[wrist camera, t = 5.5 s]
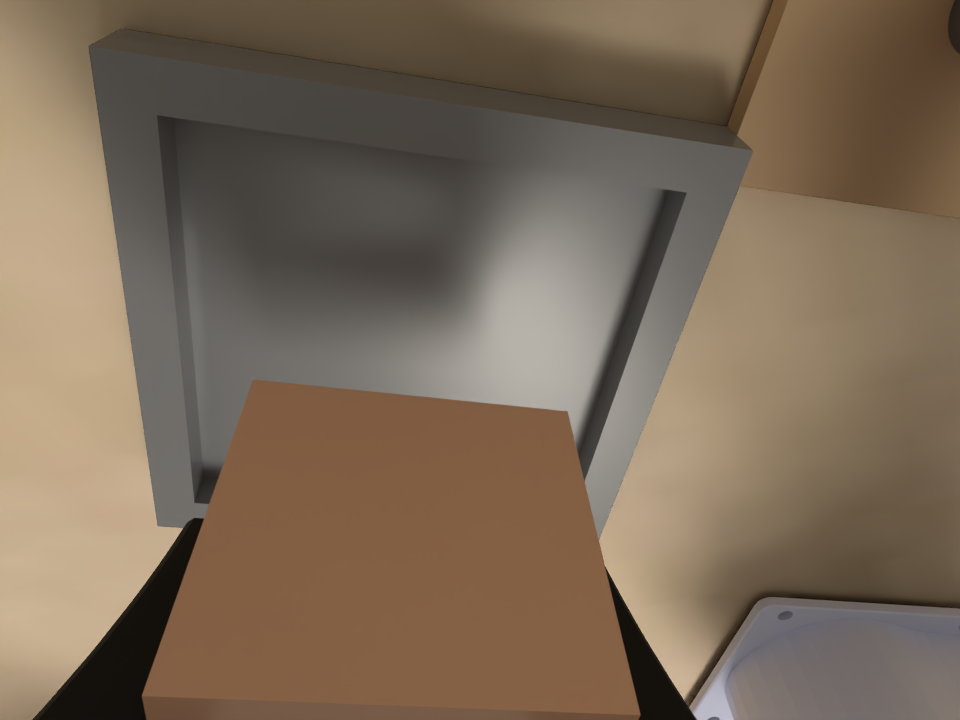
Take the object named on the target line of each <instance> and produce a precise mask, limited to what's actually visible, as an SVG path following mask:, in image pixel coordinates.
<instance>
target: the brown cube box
mask: <svg viewBox="0 0 960 720" xmlns="http://www.w3.org/2000/svg"><path fill="white" fill-rule="evenodd" d="M142 700H143V705H144V710H145V715H146V720H638V719H639V717H640V710H639V706H638V702H637V698H636V694H635V690H634V685H633V681H632V677H631V673H630V669H629V665H628V661H627V656H626V652H625V648H624V644H623V640H622V636H621V631H620V627H619V623H618V619H617V615H616V611H615V606H614V602H613V598H612V594H611V590H610V586H609V581H608V577H607V573H606V569H605V565H604V561H603V556H602V552H601V548H600V544H599V540H598V536H597V531H596V527H595V523H594V519H593V515H592V511H591V507H590V502H589V498H588V494H587V490H586V486H585V482H584V477H583V473H582V469H581V465H580V461H579V457H578V452H577V448H576V444H575V440H574V436H573V432H572V427H571V423H570V419H569V415H568V411H560V410H550V409H540V408H530V407H520V406H510V405H501V404H491V403H481V402H471V401H461V400H451V399H441V398H431V397H421V396H412V395H402V394H392V393H382V392H372V391H362V390H352V389H342V388H333V387H323V386H313V385H303V384H293V383H283V382H273V381H263V380H253V381H252V384H251V387H250V390H249V393H248V395H247V398H246V401H245V404H244V407H243V410H242V413H241V415H240V418H239V421H238V424H237V427H236V430H235V432H234V435H233V438H232V441H231V444H230V447H229V449H228V452H227V455H226V458H225V461H224V464H223V467H222V469H221V472H220V475H219V478H218V481H217V484H216V486H215V489H214V492H213V495H212V498H211V501H210V503H209V506H208V509H207V512H206V515H205V518H204V521H203V523H202V526H201V529H200V532H199V535H198V538H197V540H196V543H195V546H194V549H193V552H192V555H191V557H190V560H189V563H188V566H187V569H186V572H185V575H184V577H183V580H182V583H181V586H180V589H179V592H178V594H177V597H176V600H175V603H174V606H173V609H172V611H171V614H170V617H169V620H168V623H167V626H166V629H165V631H164V634H163V637H162V640H161V643H160V646H159V648H158V651H157V654H156V657H155V660H154V663H153V665H152V668H151V671H150V674H149V677H148V680H147V683H146V685H145V688H144V691H143V694H142Z"/></svg>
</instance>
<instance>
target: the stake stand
mask: <svg viewBox="0 0 960 720" xmlns="http://www.w3.org/2000/svg"><path fill="white" fill-rule="evenodd" d="M727 127H728V128H729V129H730V130H731V131H733V132H734V133H735V134H736V135H737V136H738V137H739V138H740V139H741V140H742V141H744V142H745V143H746V144H747V145H748V146H749V147H750V148H751V149H752V150H753V153H752V156H751V158H750V161H749V163H748V166H747V169H746V171H745V174H744V176H743V179H742V181H741V184H740V186H745V187H752V188H758V189H765V190H772V191H779V192H785V193H792V194H799V195H805V196H812V197H819V198H825V199H832V200H839V201H845V202H852V203H859V204H866V205H872V206H879V207H886V208H892V209H899V210H906V211H912V212H919V213H926V214H933V215H939V216H946V217H953V218H959V219H960V0H773V3H772V5H771V8H770V11H769V14H768V16H767V19H766V22H765V24H764V27H763V30H762V33H761V35H760V38H759V41H758V43H757V46H756V49H755V52H754V54H753V57H752V60H751V62H750V65H749V68H748V71H747V73H746V76H745V79H744V82H743V84H742V87H741V90H740V92H739V95H738V98H737V101H736V103H735V106H734V109H733V111H732V114H731V117H730V120H729V122H728V125H727Z"/></svg>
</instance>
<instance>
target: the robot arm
mask: <svg viewBox="0 0 960 720" xmlns="http://www.w3.org/2000/svg"><path fill="white" fill-rule="evenodd" d="M203 521H204V518H193V519H192V520H190V521H188V522H187V523H186V525H185V526H184V528H183V530H182V531H181V533H180V534H179V536H178V537H177V539H176V540H175V542H174V543H173V545H172V546H171V548H170V549H169V551H168V552H167V554H166V555H165V557H164V558H163V560H162V561H161V562H160V564H159V565H158V567H157V568H156V569H155V571H154V572H153V574H152V575H151V576H150V578H149V579H148V580H147V582H146V583H145V585H144V586H143V587H142V589H141V590H140V591H139V593H138V594H137V595H136V597H135V598H134V599H133V601H132V602H131V603H130V604H129V606H128V607H127V608H126V610H125V611H124V612H123V613H122V615H121V616H120V617H119V618H118V620H117V621H116V622H115V623H114V625H113V626H112V627H111V629H110V630H109V631H108V632H107V634H106V635H105V636H104V637H103V639H102V640H101V641H100V642H99V644H98V645H97V646H96V647H95V649H94V650H93V651H92V652H91V653H90V655H89V656H88V657H87V658H86V659H85V660H84V662H83V663H82V664H81V665H80V666H79V667H78V669H77V670H76V671H75V672H74V673H73V674H72V675H71V677H70V678H69V679H68V680H67V681H66V682H65V683H64V685H63V686H62V687H61V688H60V689H59V690H58V692H57V693H56V694H55V695H54V696H53V697H52V698H51V700H50V701H49V702H48V703H47V704H46V705H45V706H44V708H43V709H42V710H41V711H40V712H39V713H38V714H37V715H36V716H35V717H34V719H33V720H146V715H145V710H144V705H143V700H142V694H143V691H144V688H145V685H146V683H147V680H148V677H149V674H150V671H151V668H152V665H153V663H154V660H155V657H156V654H157V651H158V648H159V646H160V643H161V640H162V637H163V634H164V631H165V629H166V626H167V623H168V620H169V617H170V614H171V611H172V609H173V606H174V603H175V600H176V597H177V594H178V592H179V589H180V586H181V583H182V580H183V577H184V575H185V572H186V569H187V566H188V563H189V560H190V557H191V555H192V552H193V549H194V546H195V543H196V540H197V538H198V535H199V532H200V529H201V526H202V523H203ZM605 569H606V567H605ZM606 573H607V577H608V581H609V586H610V590H611V594H612V598H613V602H614V606H615V611H616V615H617V619H618V623H619V627H620V631H621V636H622V640H623V644H624V648H625V652H626V656H627V661H628V665H629V669H630V673H631V677H632V681H633V685H634V690H635V694H636V698H637V702H638V706H639V710H640V717H639V719H638V720H960V609H959V608H943V607H927V606H911V605H894V604H878V603H862V602H846V601H830V600H814V599H798V598H782V597H767V598H763V599H761V600H759V601H758V602H757V603H756V604H755V605H754V607H753V608H752V610H751V612H750V613H749V615H748V616H747V618H746V619H745V621H744V622H743V624H742V626H741V627H740V629H739V630H738V632H737V633H736V635H735V637H734V638H733V640H732V641H731V643H730V644H729V646H728V647H727V649H726V651H725V652H724V654H723V655H722V657H721V658H720V660H719V661H718V663H717V665H716V666H715V668H714V669H713V671H712V672H711V674H710V676H709V677H708V679H707V680H706V682H705V683H704V685H703V686H702V688H701V690H700V691H699V693H698V694H697V696H696V697H695V699H694V701H693V702H692V704H691V705H690V707H688V706H687V704H686V703H685V701H684V700H683V698H682V696H681V695H680V693H679V692H678V690H677V689H676V687H675V686H674V684H673V683H672V681H671V679H670V678H669V676H668V675H667V673H666V671H665V670H664V668H663V666H662V665H661V663H660V662H659V660H658V658H657V657H656V655H655V653H654V652H653V650H652V649H651V647H650V645H649V644H648V642H647V640H646V639H645V637H644V635H643V634H642V632H641V630H640V628H639V627H638V625H637V623H636V622H635V620H634V618H633V616H632V614H631V613H630V611H629V609H628V607H627V606H626V604H625V602H624V600H623V598H622V597H621V595H620V593H619V591H618V589H617V588H616V586H615V584H614V582H613V580H612V578H611V576H610V575H609V573H608V571H607V569H606Z"/></svg>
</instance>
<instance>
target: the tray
mask: <svg viewBox="0 0 960 720" xmlns="http://www.w3.org/2000/svg"><path fill="white" fill-rule="evenodd" d="M89 52H90V59H91V66H92V73H93V80H94V87H95V94H96V101H97V108H98V115H99V122H100V129H101V136H102V143H103V150H104V157H105V164H106V171H107V177H108V184H109V191H110V198H111V205H112V212H113V219H114V226H115V233H116V240H117V247H118V254H119V261H120V268H121V275H122V282H123V289H124V296H125V302H126V309H127V316H128V323H129V330H130V337H131V344H132V351H133V358H134V365H135V372H136V379H137V386H138V393H139V400H140V407H141V414H142V421H143V428H144V434H145V441H146V448H147V455H148V462H149V469H150V476H151V483H152V490H153V497H154V504H155V511H156V518H157V525H158V526H163V527H177V528H184V526H185V525H186V523H187V522H188V521H190V520H192V519H193V518H205V515H206V512H207V509H208V506H209V503H210V501H211V498H212V495H213V492H214V489H215V486H216V484H217V481H218V478H219V475H220V472H221V469H222V467H223V464H224V461H225V458H226V455H227V452H228V449H229V447H230V444H231V441H232V438H233V435H234V432H235V430H236V427H237V424H238V421H239V418H240V415H241V413H242V410H243V407H244V404H245V401H246V398H247V395H248V393H249V390H250V387H251V384H252V381H253V380H263V381H273V382H283V383H293V384H303V385H313V386H323V387H333V388H342V389H352V390H362V391H372V392H382V393H392V394H402V395H412V396H421V397H431V398H441V399H451V400H461V401H471V402H481V403H491V404H501V405H510V406H520V407H530V408H540V409H550V410H560V411H568V415H569V419H570V423H571V427H572V432H573V436H574V440H575V444H576V448H577V452H578V457H579V461H580V465H581V469H582V473H583V477H584V482H585V486H586V490H587V494H588V498H589V502H590V507H591V511H592V515H593V519H594V523H595V527H596V531H597V536H598V540H599V539H600V536H601V533H602V531H603V528H604V526H605V523H606V521H607V518H608V516H609V513H610V511H611V508H612V506H613V503H614V501H615V498H616V496H617V493H618V491H619V488H620V486H621V483H622V481H623V478H624V476H625V473H626V471H627V468H628V466H629V463H630V460H631V458H632V455H633V453H634V450H635V448H636V445H637V443H638V440H639V438H640V435H641V433H642V430H643V428H644V425H645V423H646V420H647V418H648V415H649V413H650V410H651V408H652V405H653V403H654V400H655V398H656V395H657V393H658V390H659V388H660V385H661V382H662V380H663V377H664V375H665V372H666V370H667V367H668V365H669V362H670V360H671V357H672V355H673V352H674V350H675V347H676V345H677V342H678V340H679V337H680V335H681V332H682V330H683V327H684V325H685V322H686V320H687V317H688V315H689V312H690V309H691V307H692V304H693V302H694V299H695V297H696V294H697V292H698V289H699V287H700V284H701V282H702V279H703V277H704V274H705V272H706V269H707V267H708V264H709V262H710V259H711V257H712V254H713V252H714V249H715V247H716V244H717V242H718V239H719V236H720V234H721V231H722V229H723V226H724V224H725V221H726V219H727V216H728V214H729V211H730V209H731V206H732V204H733V201H734V199H735V196H736V194H737V191H738V189H739V186H740V184H741V181H742V179H743V176H744V174H745V171H746V169H747V166H748V163H749V161H750V158H751V156H752V153H753V150H752V149H751V148H750V147H749V146H748V145H747V144H746V143H745V142H744V141H742V140H741V139H740V138H739V137H738V136H737V135H736V134H735V133H734V132H733V131H731V130H730V129H729V128H728V127H727V126H721V125H715V124H709V123H703V122H696V121H690V120H684V119H678V118H672V117H665V116H659V115H653V114H647V113H641V112H634V111H628V110H622V109H616V108H610V107H603V106H597V105H591V104H585V103H579V102H573V101H566V100H560V99H554V98H548V97H542V96H535V95H529V94H523V93H517V92H511V91H504V90H498V89H492V88H486V87H480V86H473V85H467V84H461V83H455V82H449V81H443V80H436V79H430V78H424V77H418V76H412V75H405V74H399V73H393V72H387V71H381V70H374V69H368V68H362V67H356V66H350V65H343V64H337V63H331V62H325V61H319V60H313V59H306V58H300V57H294V56H288V55H282V54H275V53H269V52H263V51H257V50H251V49H244V48H238V47H232V46H226V45H220V44H213V43H207V42H201V41H195V40H189V39H183V38H176V37H170V36H164V35H158V34H152V33H145V32H139V31H133V30H127V29H120V30H118V31H116V32H114V33H112V34H110V35H108V36H106V37H105V38H103V39H101V40H99V41H97V42H95V43H93V44H91V45H90V46H89Z"/></svg>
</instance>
